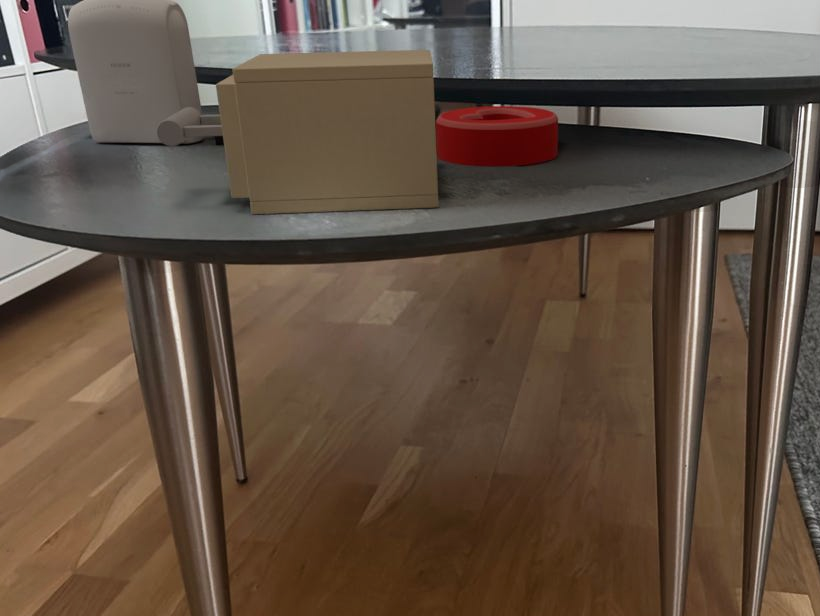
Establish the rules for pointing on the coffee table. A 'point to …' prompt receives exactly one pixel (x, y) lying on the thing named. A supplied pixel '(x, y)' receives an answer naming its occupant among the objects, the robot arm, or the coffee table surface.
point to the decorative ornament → (497, 136)
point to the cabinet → (338, 131)
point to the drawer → (213, 133)
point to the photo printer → (132, 67)
